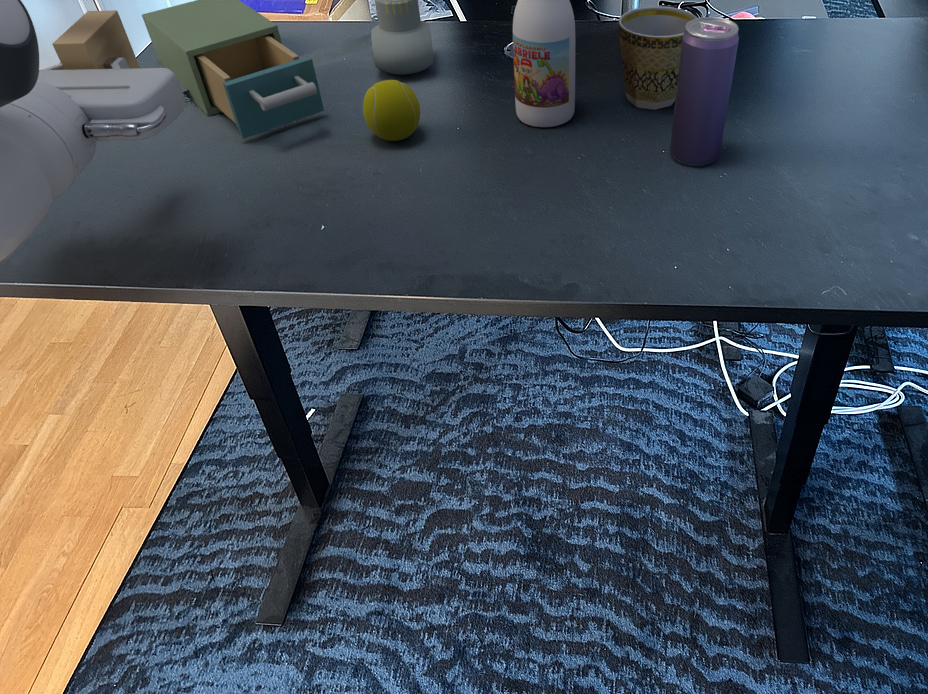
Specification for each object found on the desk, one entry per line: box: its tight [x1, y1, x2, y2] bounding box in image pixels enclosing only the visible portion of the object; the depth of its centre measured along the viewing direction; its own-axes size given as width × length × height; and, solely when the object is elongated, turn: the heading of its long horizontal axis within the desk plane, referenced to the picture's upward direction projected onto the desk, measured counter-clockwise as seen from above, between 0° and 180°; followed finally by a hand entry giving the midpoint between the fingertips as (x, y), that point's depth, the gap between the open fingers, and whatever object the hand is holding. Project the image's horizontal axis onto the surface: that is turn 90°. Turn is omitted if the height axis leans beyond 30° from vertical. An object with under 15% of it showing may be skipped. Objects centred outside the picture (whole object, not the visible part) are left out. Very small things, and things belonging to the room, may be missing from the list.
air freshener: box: [370, 0, 435, 76], centre depth 109 cm, size 11×8×10 cm
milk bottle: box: [512, 0, 576, 128], centre depth 94 cm, size 8×8×20 cm
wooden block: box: [51, 9, 141, 70], centre depth 77 cm, size 8×3×9 cm, turn 179°
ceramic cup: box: [617, 5, 698, 111], centre depth 101 cm, size 13×10×10 cm
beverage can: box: [669, 16, 740, 167], centre depth 88 cm, size 6×6×15 cm
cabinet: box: [141, 0, 283, 117], centre depth 108 cm, size 17×13×9 cm
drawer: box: [194, 34, 325, 139], centre depth 100 cm, size 20×11×7 cm, turn 38°
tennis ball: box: [362, 79, 421, 142], centre depth 96 cm, size 7×7×7 cm
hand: (98, 65), depth 75 cm, fingers closed on wooden block, 3 cm apart
